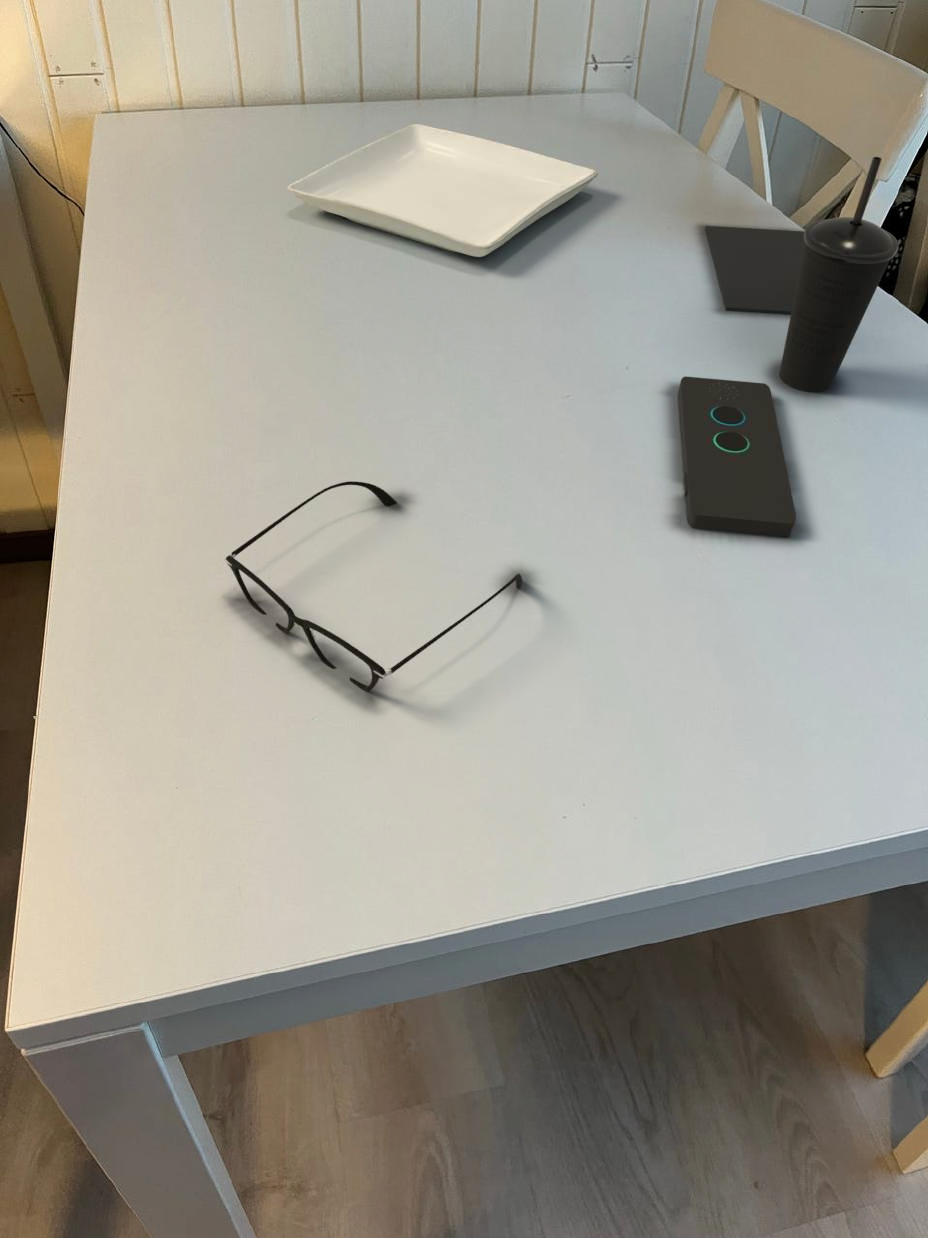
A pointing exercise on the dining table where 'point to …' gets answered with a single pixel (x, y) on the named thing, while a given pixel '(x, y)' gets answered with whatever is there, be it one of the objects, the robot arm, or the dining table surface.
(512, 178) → the square plate
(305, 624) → the eyeglasses
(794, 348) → the drinking cup
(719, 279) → the mat
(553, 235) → the dining table surface
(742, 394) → the smart home device
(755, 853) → the dining table surface
